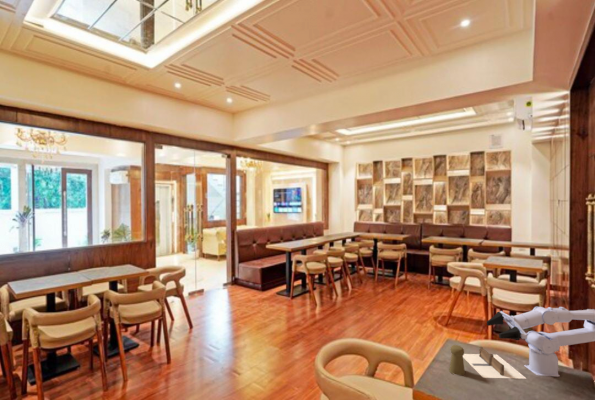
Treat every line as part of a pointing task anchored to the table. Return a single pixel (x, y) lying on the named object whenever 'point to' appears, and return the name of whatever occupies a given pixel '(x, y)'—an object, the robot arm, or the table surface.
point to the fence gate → (498, 366)
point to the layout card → (488, 370)
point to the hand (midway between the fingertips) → (493, 329)
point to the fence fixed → (485, 356)
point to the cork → (457, 360)
